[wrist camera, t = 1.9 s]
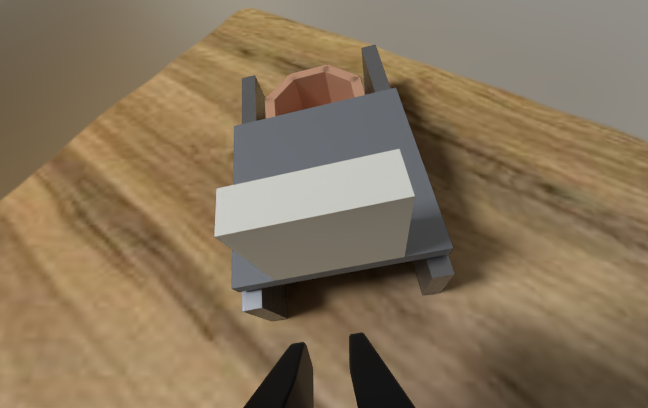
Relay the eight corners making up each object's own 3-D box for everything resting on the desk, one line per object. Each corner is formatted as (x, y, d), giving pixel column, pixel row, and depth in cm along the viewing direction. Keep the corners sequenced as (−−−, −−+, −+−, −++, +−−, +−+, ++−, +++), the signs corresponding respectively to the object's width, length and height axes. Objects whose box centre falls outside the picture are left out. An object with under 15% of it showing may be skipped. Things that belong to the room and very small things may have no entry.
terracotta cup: (377, 167, 26) (374, 128, 22) (286, 187, 27) (267, 153, 22) (359, 101, 30) (354, 57, 25) (281, 120, 31) (263, 80, 26)
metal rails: (440, 292, 21) (454, 274, 16) (271, 321, 22) (242, 311, 17) (377, 90, 30) (375, 44, 26) (262, 118, 31) (242, 78, 27)
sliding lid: (450, 254, 16) (493, 179, 10) (239, 292, 17) (149, 249, 11) (395, 98, 22) (399, -15, 15) (239, 135, 23) (181, 44, 17)
